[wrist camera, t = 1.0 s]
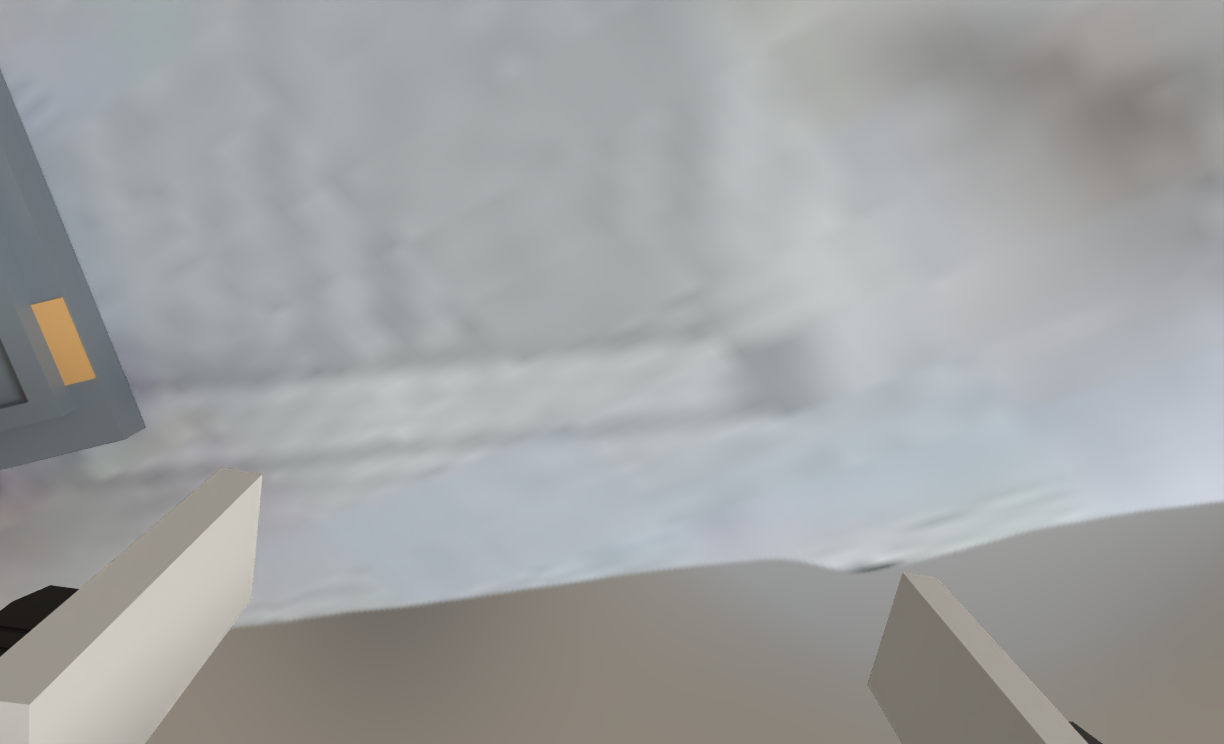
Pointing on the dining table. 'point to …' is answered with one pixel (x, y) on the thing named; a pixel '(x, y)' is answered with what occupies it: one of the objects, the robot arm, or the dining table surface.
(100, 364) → the switch board
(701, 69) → the dining table surface
